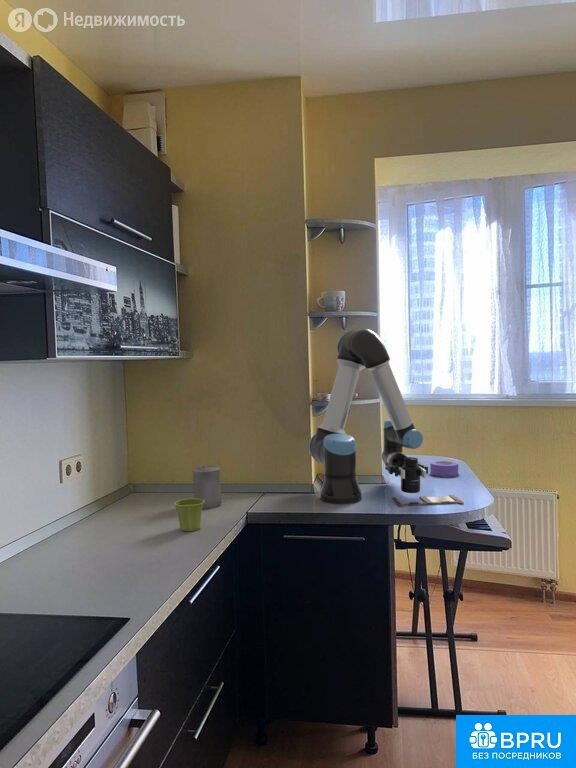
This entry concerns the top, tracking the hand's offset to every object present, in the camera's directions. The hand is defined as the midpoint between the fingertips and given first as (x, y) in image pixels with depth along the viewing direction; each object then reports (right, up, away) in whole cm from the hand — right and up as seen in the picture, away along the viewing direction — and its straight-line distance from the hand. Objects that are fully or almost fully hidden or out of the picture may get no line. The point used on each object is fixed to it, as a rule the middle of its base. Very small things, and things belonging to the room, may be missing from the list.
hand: (414, 474), depth 203 cm
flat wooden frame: (+5, -10, +6) cm, 13 cm away
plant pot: (-75, -14, -19) cm, 79 cm away
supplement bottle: (0, -7, +5) cm, 9 cm away
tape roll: (+24, -8, +50) cm, 56 cm away
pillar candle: (-73, -13, +9) cm, 75 cm away
